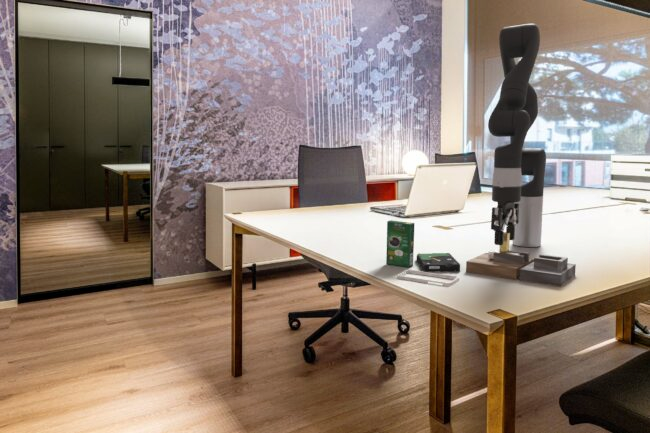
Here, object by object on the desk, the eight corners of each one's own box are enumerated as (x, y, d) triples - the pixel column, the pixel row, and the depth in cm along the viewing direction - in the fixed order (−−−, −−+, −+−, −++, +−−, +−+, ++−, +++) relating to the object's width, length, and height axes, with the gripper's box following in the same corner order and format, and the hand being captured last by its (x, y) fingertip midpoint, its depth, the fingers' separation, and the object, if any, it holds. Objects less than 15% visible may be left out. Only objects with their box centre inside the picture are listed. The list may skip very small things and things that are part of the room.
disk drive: (460, 274, 148) (449, 261, 163) (461, 264, 148) (449, 252, 162) (423, 274, 148) (415, 261, 163) (424, 264, 148) (415, 252, 163)
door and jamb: (485, 262, 158) (486, 244, 158) (575, 275, 143) (576, 255, 142) (466, 271, 148) (466, 252, 147) (560, 286, 132) (561, 265, 131)
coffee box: (414, 265, 155) (415, 222, 153) (410, 267, 153) (410, 223, 151) (390, 262, 160) (390, 219, 158) (385, 264, 158) (386, 221, 156)
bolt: (491, 256, 151) (492, 230, 150) (519, 260, 146) (520, 233, 145) (488, 258, 149) (489, 232, 148) (516, 262, 144) (517, 235, 143)
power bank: (459, 281, 140) (408, 273, 148) (459, 276, 140) (408, 269, 148) (449, 288, 134) (396, 280, 142) (449, 283, 134) (396, 275, 142)
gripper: (502, 181, 152) (500, 237, 155) (483, 185, 141) (481, 244, 144) (529, 183, 148) (526, 239, 150) (511, 186, 137) (508, 248, 139)
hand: (504, 242), depth 147 cm, fingers open, 8 cm apart
